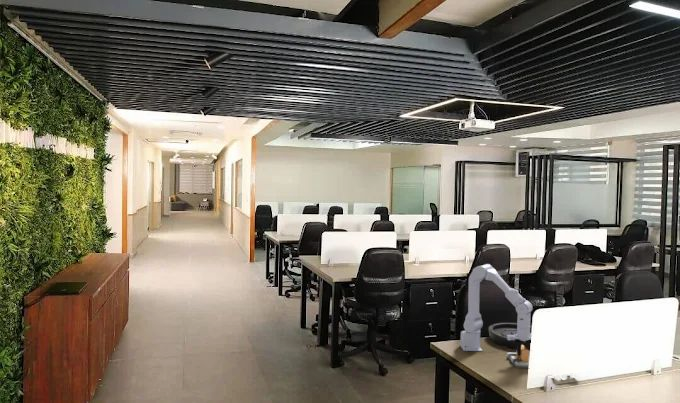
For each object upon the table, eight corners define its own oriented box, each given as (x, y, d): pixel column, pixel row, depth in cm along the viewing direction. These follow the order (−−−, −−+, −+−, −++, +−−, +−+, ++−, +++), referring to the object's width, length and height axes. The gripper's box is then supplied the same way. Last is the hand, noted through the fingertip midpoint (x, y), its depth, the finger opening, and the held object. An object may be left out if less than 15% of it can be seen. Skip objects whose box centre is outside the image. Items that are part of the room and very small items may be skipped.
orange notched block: (522, 361, 214) (522, 350, 214) (516, 355, 222) (516, 344, 222) (528, 361, 214) (529, 350, 214) (522, 355, 222) (522, 344, 221)
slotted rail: (516, 368, 212) (516, 362, 211) (507, 357, 225) (507, 352, 224) (538, 368, 211) (538, 363, 211) (527, 357, 224) (527, 352, 224)
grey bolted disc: (533, 332, 263) (481, 331, 263) (534, 322, 263) (481, 321, 263) (558, 352, 233) (499, 351, 233) (558, 340, 233) (499, 339, 233)
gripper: (511, 329, 213) (510, 358, 214) (542, 330, 213) (541, 358, 214) (505, 324, 220) (504, 352, 221) (536, 325, 220) (535, 353, 221)
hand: (522, 355), depth 218 cm, fingers closed on orange notched block, 3 cm apart
